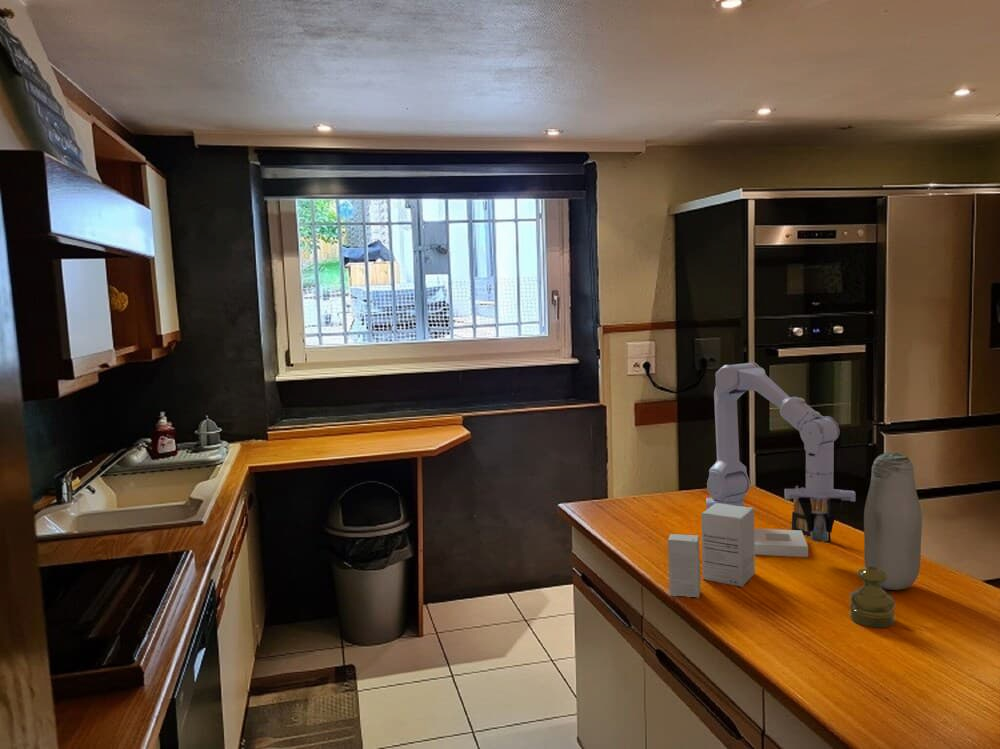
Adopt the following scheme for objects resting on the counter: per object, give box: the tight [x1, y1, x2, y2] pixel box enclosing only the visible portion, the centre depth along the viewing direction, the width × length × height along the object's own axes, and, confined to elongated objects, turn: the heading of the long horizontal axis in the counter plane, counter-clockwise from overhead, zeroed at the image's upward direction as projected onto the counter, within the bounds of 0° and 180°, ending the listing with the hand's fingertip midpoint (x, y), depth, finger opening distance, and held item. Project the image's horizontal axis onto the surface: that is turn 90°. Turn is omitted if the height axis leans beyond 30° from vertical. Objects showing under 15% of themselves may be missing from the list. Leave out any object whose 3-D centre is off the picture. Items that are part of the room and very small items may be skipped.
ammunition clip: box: [791, 485, 832, 543], centre depth 187 cm, size 11×2×12 cm, turn 25°
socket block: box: [754, 528, 809, 558], centre depth 181 cm, size 12×12×2 cm
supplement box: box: [700, 503, 756, 588], centre depth 163 cm, size 9×9×15 cm
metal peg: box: [810, 511, 828, 543], centre depth 169 cm, size 4×4×6 cm
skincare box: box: [667, 533, 701, 599], centre depth 155 cm, size 6×4×12 cm
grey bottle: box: [863, 452, 923, 591], centre depth 153 cm, size 10×10×28 cm
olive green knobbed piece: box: [849, 567, 895, 629], centre depth 139 cm, size 7×7×10 cm
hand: (819, 530), depth 169 cm, fingers closed on metal peg, 3 cm apart
